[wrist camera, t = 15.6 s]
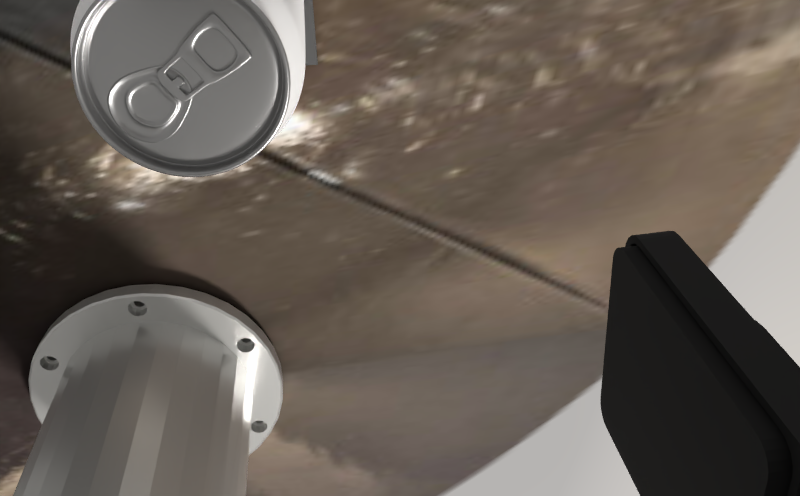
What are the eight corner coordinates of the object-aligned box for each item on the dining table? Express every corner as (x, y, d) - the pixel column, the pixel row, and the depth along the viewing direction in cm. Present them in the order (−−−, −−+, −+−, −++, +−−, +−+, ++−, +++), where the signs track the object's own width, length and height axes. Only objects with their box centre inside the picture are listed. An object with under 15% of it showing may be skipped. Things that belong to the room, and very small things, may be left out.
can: (101, -28, 30) (-4, 63, 19) (224, -142, 28) (182, -109, 18) (219, 96, 33) (183, 232, 22) (336, -1, 31) (355, 97, 21)
